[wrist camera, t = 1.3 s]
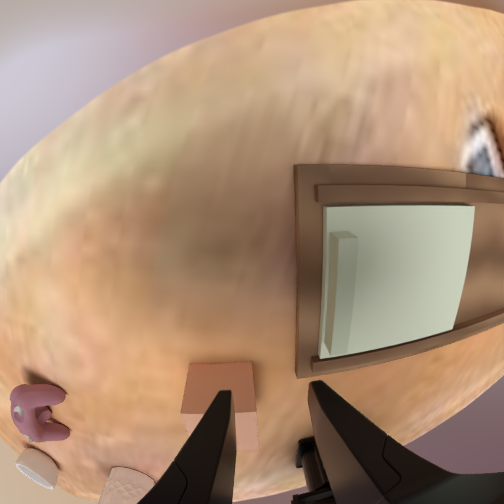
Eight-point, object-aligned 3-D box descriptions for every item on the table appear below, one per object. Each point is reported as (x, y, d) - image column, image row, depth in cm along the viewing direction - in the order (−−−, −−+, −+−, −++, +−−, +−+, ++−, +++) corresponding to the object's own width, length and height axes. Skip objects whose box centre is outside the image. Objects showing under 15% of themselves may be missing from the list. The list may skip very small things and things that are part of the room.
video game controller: (45, 365, 23) (-2, 385, 16) (68, 393, 22) (19, 419, 15) (52, 412, 25) (15, 432, 19) (73, 436, 24) (36, 459, 18)
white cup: (100, 470, 28) (85, 519, 18) (119, 459, 26) (103, 518, 17) (144, 491, 29) (136, 539, 20) (169, 482, 28) (162, 538, 19)
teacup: (38, 443, 26) (26, 465, 21) (70, 470, 28) (62, 492, 23) (14, 441, 27) (4, 460, 22) (43, 466, 29) (35, 485, 24)
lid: (448, 325, 21) (461, 338, 18) (317, 353, 20) (325, 372, 18) (469, 204, 17) (488, 210, 15) (323, 205, 17) (335, 212, 15)
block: (254, 401, 23) (259, 449, 18) (199, 403, 23) (194, 451, 18) (251, 360, 21) (256, 411, 16) (189, 363, 21) (180, 413, 16)
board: (507, 315, 23) (516, 321, 21) (295, 370, 22) (298, 385, 20) (530, 183, 18) (542, 186, 16) (293, 165, 17) (300, 165, 15)
